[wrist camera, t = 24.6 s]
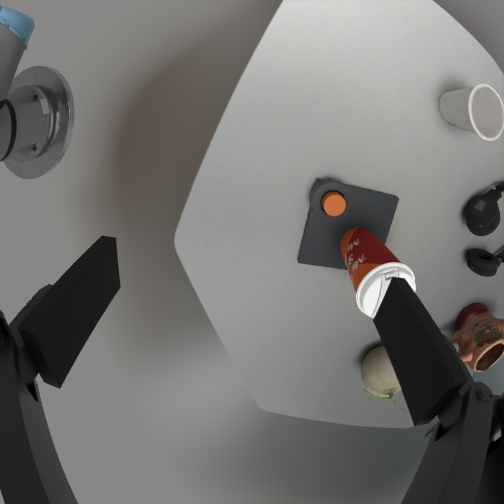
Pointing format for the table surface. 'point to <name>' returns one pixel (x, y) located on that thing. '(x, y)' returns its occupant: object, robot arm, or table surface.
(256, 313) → the table surface
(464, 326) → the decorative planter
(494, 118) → the dixie cup
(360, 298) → the coffee cup
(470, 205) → the headphones
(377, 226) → the scale
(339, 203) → the button
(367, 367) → the fruit
